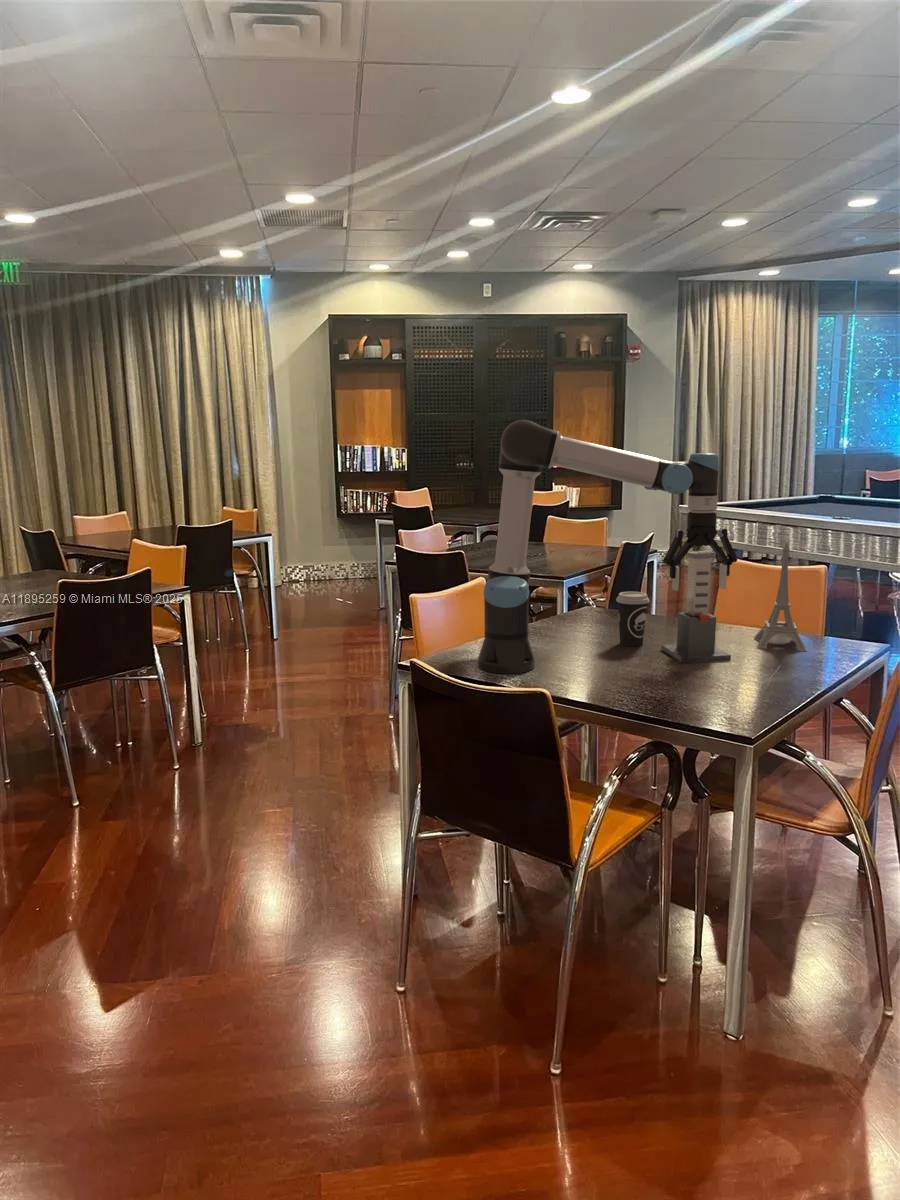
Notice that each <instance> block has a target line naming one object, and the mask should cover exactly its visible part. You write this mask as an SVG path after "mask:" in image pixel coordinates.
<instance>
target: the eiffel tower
mask: <svg viewBox="0 0 900 1200" xmlns="http://www.w3.org/2000/svg"><path fill="white" fill-rule="evenodd" d="M781 555H782V561H781V562H782V563H781V571H780V577H779V584H778V590H777V594H776V595H777V596H776V601H774V602H773V604H774V607H773V609H772V612H771V613H770V615H769V617H768V620H764V622H765V624H764V625H763V626H762V627H761V629H760V630H759V631H758V632H757V633H756V634H755V635H754V636H753V640H754V641H758V643H757V644H756V646H755V647H756V649H758V650H767V649H768V646H767V645H768V643H769V642H770V640H771V639H772V638H774V637H775V636H778V635H785V636H788V637H790V638H791V639H790V640H791V642H792V643H795V645H796V648H795V650H796V651H797V652H808V649H807V648H806V647H805V644H804V642H803V640H802V639H801V637H800V635H799V633H798V631H797V630H798V627H797V626H796V623H795V622H794V621H793V618H792V614H791V610H790V608H791V604H790V600H789V556H790V555H791V553H790V548H789V543H788V542H784V546H783V548H782V552H781ZM781 611H783V615H784V616H783V617H784V621H779V617H780V613H781Z"/></svg>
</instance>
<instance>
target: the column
mask: <svg viewBox="0 0 900 1200" xmlns="http://www.w3.org/2000/svg"><path fill="white" fill-rule="evenodd" d="M684 557H687V558H688V565H687V567H688V568H687V588H686V589H687V591H686V608H685V609H686V610H685V612H686V615H687V616H689V617H691V618H693V617H699V615H708V613H709V607H710V606H709V605H710V589H711V587H710V586H711V567H712V559H716V553H715V552H711V551H708V550H689V551H688V552H687V554H686V555H685V556H684Z"/></svg>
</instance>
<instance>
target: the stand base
mask: <svg viewBox="0 0 900 1200" xmlns="http://www.w3.org/2000/svg"><path fill="white" fill-rule="evenodd" d="M677 614H678V616H677V630H676V631H677V635H676V643H673V644H670V643H669V644H661V648H660V650H661V651H662V652H664V653H665V654H666V655H669V656H670V657H671V658H673V659H675V660H676V661H678V662H679V663H681V664H688V663H708V662H728V661H729V662H730V661H731V659H732V655H731V654H730V653H728V652H726V651H724V650H723V649H720V648H718V647H717V646H716V631H717V630H716V627H717V617H716V616H714V615H713V614H710V613H709V612H708V615H699V617H693V618H691V617H689V616H687V615H686V611H685V612H683V611H682V612H677Z"/></svg>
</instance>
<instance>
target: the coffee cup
mask: <svg viewBox="0 0 900 1200" xmlns="http://www.w3.org/2000/svg"><path fill="white" fill-rule="evenodd" d="M615 601H616V602H617V611H618V612H617V613H618V627H619V629H618V630H619V631H618V632H619V644H620V645H621V646H623V647H632V648H636V647H641V646H643V644H644V636H645V630H646V628H645V627H646V621H647V614H648V613H647V611H648V606H649V603H650V598H649V597H648V594H647V593H645V592H642V591H621V592H619V593H618V596H617V597H616V599H615Z"/></svg>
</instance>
